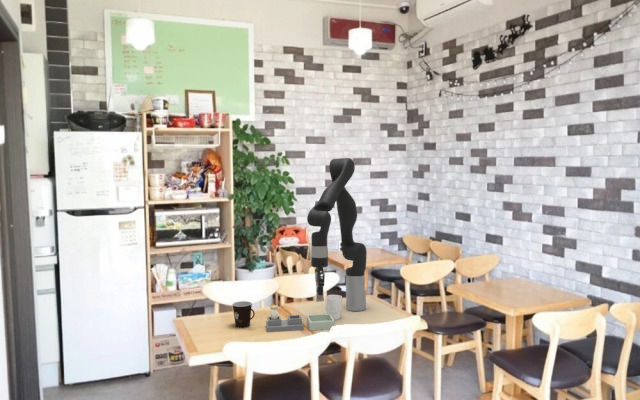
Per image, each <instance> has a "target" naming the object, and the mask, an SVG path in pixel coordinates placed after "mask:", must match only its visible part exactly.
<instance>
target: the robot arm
mask: <svg viewBox="0 0 640 400" xmlns="http://www.w3.org/2000/svg"><path fill="white" fill-rule="evenodd" d="M328 168H329V174H330V179H331V184H329V185H328V186H326V188H325V189H324V190H323V192H322V194H321V196H320V198H319V200H318V201H317V203H315V205H314V206H313V207H312V208H311V209H310V210H309V212H308V213H307V218H306V220H307V224H308V225H309V226H311V227H319V228H320V229H319V230H318V231H314V232H312V234H311V239H310V240H311V248H310V265H311V267H312V268H314V278H315V279H314V281H315V284H316V283H317V282H318V285H317V286H318V295H323V296H324V286H325V277H326V276H325V274H326V272H325V270H324V268H326V267H328V266H329V248H328V235H329V230H330V227H331V223H332V215H331V214H330V212H331V211H332V210H333V208H334V206H335V204H336V208H337V209H336V210H337V215H338V216H337V217H338V220H339V221H338V222H339V230H340V239H341V241H340V242H341V252H342V256H343V258H344V259H345V260H347V261H351V262H352V266H349V267H347V268H346V269H345V305H346V306H345V309H346V310H347V311H349V312H362V311H365V310H367V296H366V294H367V292H366V289H365V287H366V284H365V283H366V280H365V278H366V277H365V274H366V273H365V272H366V269H367V268H366V267H367V255H368V254H367V253H368V251H367V248H366V246H365V244H364V243H362V242H358V241H356V242H355V241H354V236H353V235H354V234H353V230H354V227H355V225H356V222H357V218H358V210H357V203H356V201H355V199H354V198H353V196H352V195H351V194H350V193H349V191H348V190H347V188H346V185H347V184H348V183H349V181H350V179H351V178H352V177H353V175H354V173H355V171H356V170H355V162H354V160H353V159H352V158H350V157H342V158H341V157H340V158H332V159H331V160H330V162H329V167H328ZM320 282H322V283H321V284H320Z"/></svg>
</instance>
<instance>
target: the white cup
mask: <svg viewBox="0 0 640 400" xmlns="http://www.w3.org/2000/svg"><path fill="white" fill-rule="evenodd" d="M324 298H325V301H324V302H325V312H326V314H331V316H332V317H333V319H334V321H336V320H339V319H341V318H342V310H343V309H342V308H343V296H342V295H339V294H329V295H326V296H324Z"/></svg>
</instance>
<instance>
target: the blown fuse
mask: <svg viewBox="0 0 640 400" xmlns="http://www.w3.org/2000/svg"><path fill="white" fill-rule="evenodd" d="M321 283H322V282H320V284H321ZM317 285H318V282H317V283H316V282H315V287H316V288H315V291H316V295H315V296H316V298H315V302H320V303H321V302H325V301H324V298H325V297H324V294H323V295H318V286H317Z"/></svg>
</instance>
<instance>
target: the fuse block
mask: <svg viewBox="0 0 640 400" xmlns="http://www.w3.org/2000/svg"><path fill="white" fill-rule="evenodd" d="M266 319H267V320H265V328H266V333H274V332H290V331H292V332H293V331H304V330H305V329H304V328H305V326H304V322H303V318H302V315H301V314H293V315H292V314H290V315H287V319H282V317H281V315H278V320H271V316H267V318H266Z"/></svg>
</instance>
